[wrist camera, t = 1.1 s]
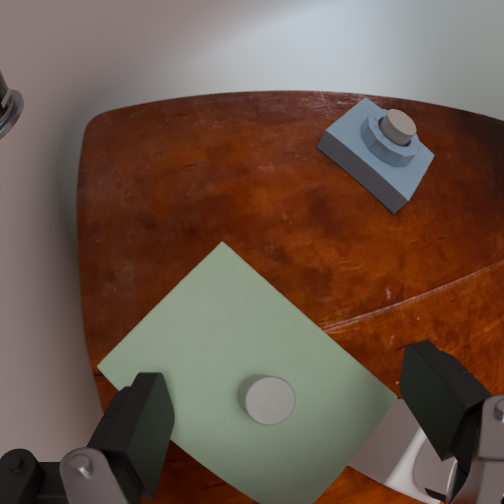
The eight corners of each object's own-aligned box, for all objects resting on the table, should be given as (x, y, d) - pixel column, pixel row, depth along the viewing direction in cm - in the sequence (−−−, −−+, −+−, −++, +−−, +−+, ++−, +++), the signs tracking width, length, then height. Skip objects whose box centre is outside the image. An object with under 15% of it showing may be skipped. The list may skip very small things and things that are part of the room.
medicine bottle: (430, 426, 23) (524, 434, 12) (392, 487, 20) (478, 522, 9) (386, 395, 24) (486, 399, 12) (342, 462, 21) (429, 506, 10)
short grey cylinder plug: (374, 129, 28) (382, 116, 26) (386, 116, 29) (394, 104, 28) (400, 152, 28) (410, 140, 26) (411, 137, 29) (420, 126, 27)
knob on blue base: (316, 147, 32) (332, 116, 27) (356, 112, 35) (372, 85, 31) (393, 214, 30) (419, 191, 26) (421, 168, 34) (443, 145, 29)
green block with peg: (150, 365, 22) (75, 366, 8) (211, 302, 24) (226, 217, 10) (246, 448, 21) (309, 544, 7) (304, 384, 23) (427, 398, 9)
